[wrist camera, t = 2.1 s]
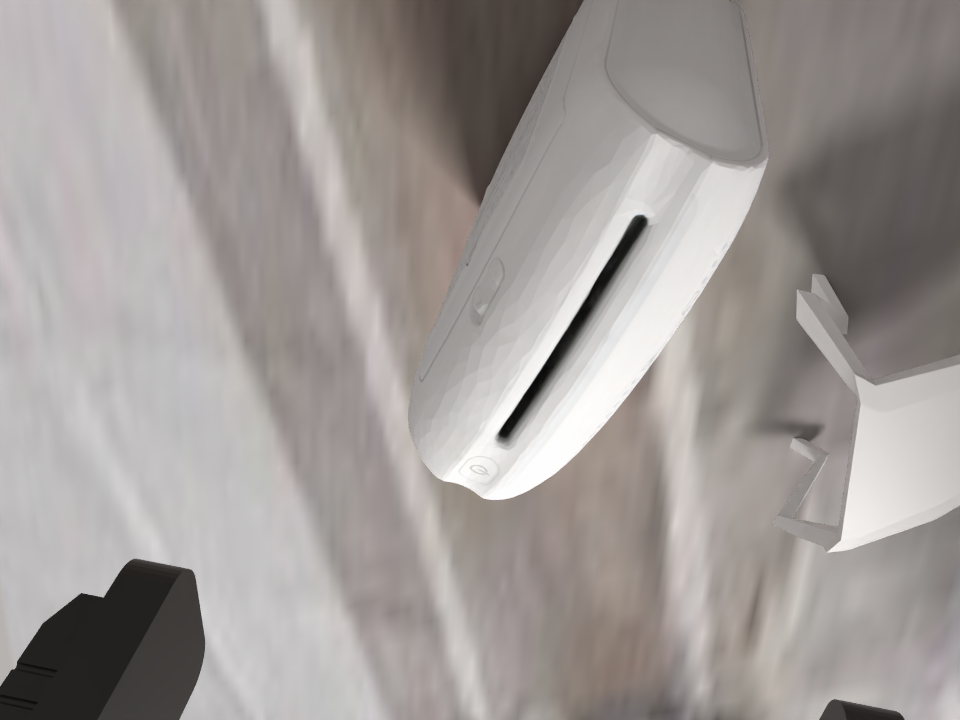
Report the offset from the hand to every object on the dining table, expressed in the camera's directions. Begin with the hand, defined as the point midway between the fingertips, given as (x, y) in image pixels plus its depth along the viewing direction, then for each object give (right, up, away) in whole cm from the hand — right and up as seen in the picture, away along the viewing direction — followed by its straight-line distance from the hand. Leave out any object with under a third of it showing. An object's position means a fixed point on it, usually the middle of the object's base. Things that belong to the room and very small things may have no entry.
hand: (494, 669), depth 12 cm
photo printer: (+3, +11, +15) cm, 19 cm away
